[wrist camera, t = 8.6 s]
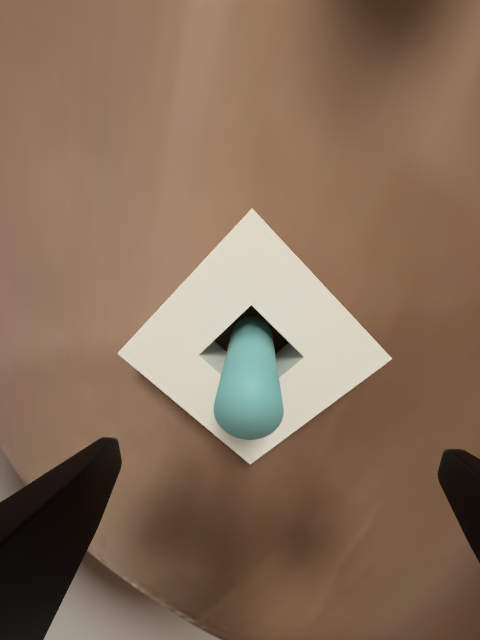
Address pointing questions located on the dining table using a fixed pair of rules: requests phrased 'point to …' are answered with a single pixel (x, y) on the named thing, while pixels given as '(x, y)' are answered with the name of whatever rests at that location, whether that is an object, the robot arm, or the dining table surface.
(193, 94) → the dining table surface
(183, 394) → the socket block
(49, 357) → the dining table surface
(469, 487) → the robot arm
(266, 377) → the peg
